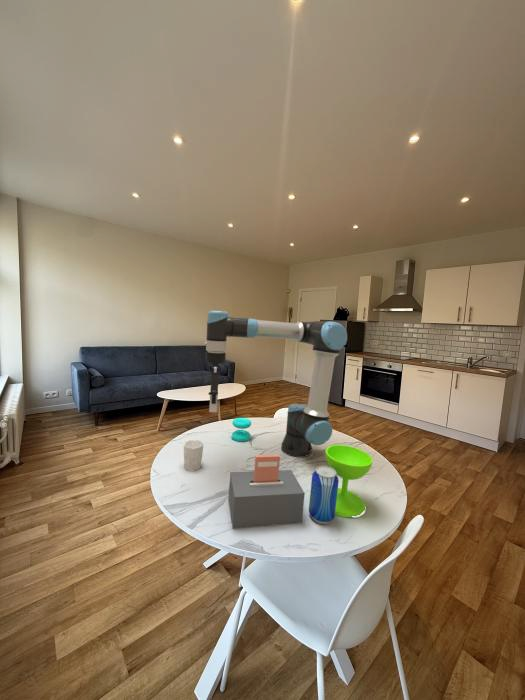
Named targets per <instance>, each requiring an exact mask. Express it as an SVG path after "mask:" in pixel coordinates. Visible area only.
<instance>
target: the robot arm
mask: <svg viewBox="0 0 525 700" xmlns="http://www.w3.org/2000/svg"><path fill="white" fill-rule="evenodd" d="M227 337H229V338H231V337H232V338H247V339H250V338H252V339H254V338H256V337H258V338H266V339H267V338H269V339H283V340H294V341H295V342H296V343H302V344H303V343H304V344H307V345H311V346H312V352H313V353H314V355H315V356H314V361H313V369H312V376H311V380H310V386H309V387H310V388H309V393H308V400H307V404H303V403H292V404H290V405H289V406H288V409H287V413H286V414H287V417H286V418H287V419H286V431H285V434H284V437H283V440H282V442H281V446H280V447H281V448H280V449H281V451H282V452H283V453H284V454H286V455H289V456H292V457H295V456H306V455H309V454H310V453H311V452H313V451H312V450H313V447H312V445H314V446H321V445H324V444H325V443H327V442H328V441H329V440H330V438H331V437H332V435H333V426H332V425H331V423H330V422H329V420H330V413H329V412H328V404H329V398H330V392H331V386H332V380H333V379H332V378H333V373H334V367H335V361H336V357H337V356H339V355H340V352H341V350H342V349H343V348H344V347H345V345H347V342H348V332H347V329H346V328H345V327H344V325H342V323H340V322H336V321H330V320H329V321H326V320H325V321H321V320H320V321H319V320H318V321H317V320H315V321H297V322H296V323H294V322H293V323H292V322H286V321H285V322H284V321H283V322H282V321H274V320H272V321H271V320H262V319H255V318H250V317H249V318H247V317H234V316H229V312H227V311H221V310H210V311H208V313H207V321H206V342H204V346H205V351H206V352H205V360H204V361H205V362H206V363H210V364H211V365H209V372H210V373H209V378H210V385H209V386H210V389H209V392H208V396H209V409H208V410H209V411H208V412H209V413H217V412H218V400H219V399H218V398H219V397H218V396H219V392H218V391H219V384H220V383H219V379H220V374H221V366H219V364H223V363H225V362H226V354H227V353H226V352H227ZM311 454H312V453H311ZM311 454H310V455H311ZM310 455H309V456H310ZM306 457H307V456H306Z"/></svg>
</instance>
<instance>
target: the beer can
mask: <svg viewBox="0 0 525 700" xmlns="http://www.w3.org/2000/svg"><path fill="white" fill-rule="evenodd" d="M339 481H340V480H339V476H338V475H337V474H336V471H335V470H334V469H333V468H331V467H329V465H328V466H327V465H319V466H317V467H315V470H314V471H313V473H312V475H311V483H310V493H309V494H310V495H309V503H308V513H309V516H310V518H311V519H312V520H313V521H314V522H316V523H317V524H321V525H328V524H330V523H332V521H333V520H335V516H336V514H335V509H336V500H337V491H338V488H339Z"/></svg>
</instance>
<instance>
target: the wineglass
mask: <svg viewBox="0 0 525 700" xmlns="http://www.w3.org/2000/svg"><path fill="white" fill-rule="evenodd" d="M325 458H326V459H325V460H326V462H327V465H328V467H331V468H333V469H334V470H335V471H336V475H337V477H338V478H339V477H340V478H342V483H341V488H339V487H338V491H337V500H336V509H335V516H338V517H339V516H340V517H341V516H342V518H346V517H352V516H357V515H360V514H361V513H362V512H363V511H364V510H365V506H366V504H365V505H364V503H365V502H364V501H362V500H363V499H362V498H361V497H360V496H359V497H358V494H356V493H354V492H353V493H352V491H350V490H348V486H349V481H351V480H352V481H353V480H358V479H361V478H363V477H364V476H366V475H367V474H368V473H369V472H370V470H371V467H372V465H373V460H374V459H373V458H372V456H371V455H370V454H369V453H368V452H366V451H365V450H362V449H360V448H357V447H355V446H351V445H350V446H349V445H344V444H333V445H329V446H327V447H326V448H325Z"/></svg>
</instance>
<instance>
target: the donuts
mask: <svg viewBox="0 0 525 700" xmlns="http://www.w3.org/2000/svg"><path fill="white" fill-rule="evenodd" d="M231 423H232V425H233V427H234V428H237V429H236V430H234V431H232V433H231V438H232V439H233V440H234V441H236V442H247V441H249V440H250V439H251V433H250V432H249V431H248V430H245V429H249V428H250V427H251V426H252V421H251V420H250V419H249V418H247V417H236V418H234V419H233V420H232V422H231Z"/></svg>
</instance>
